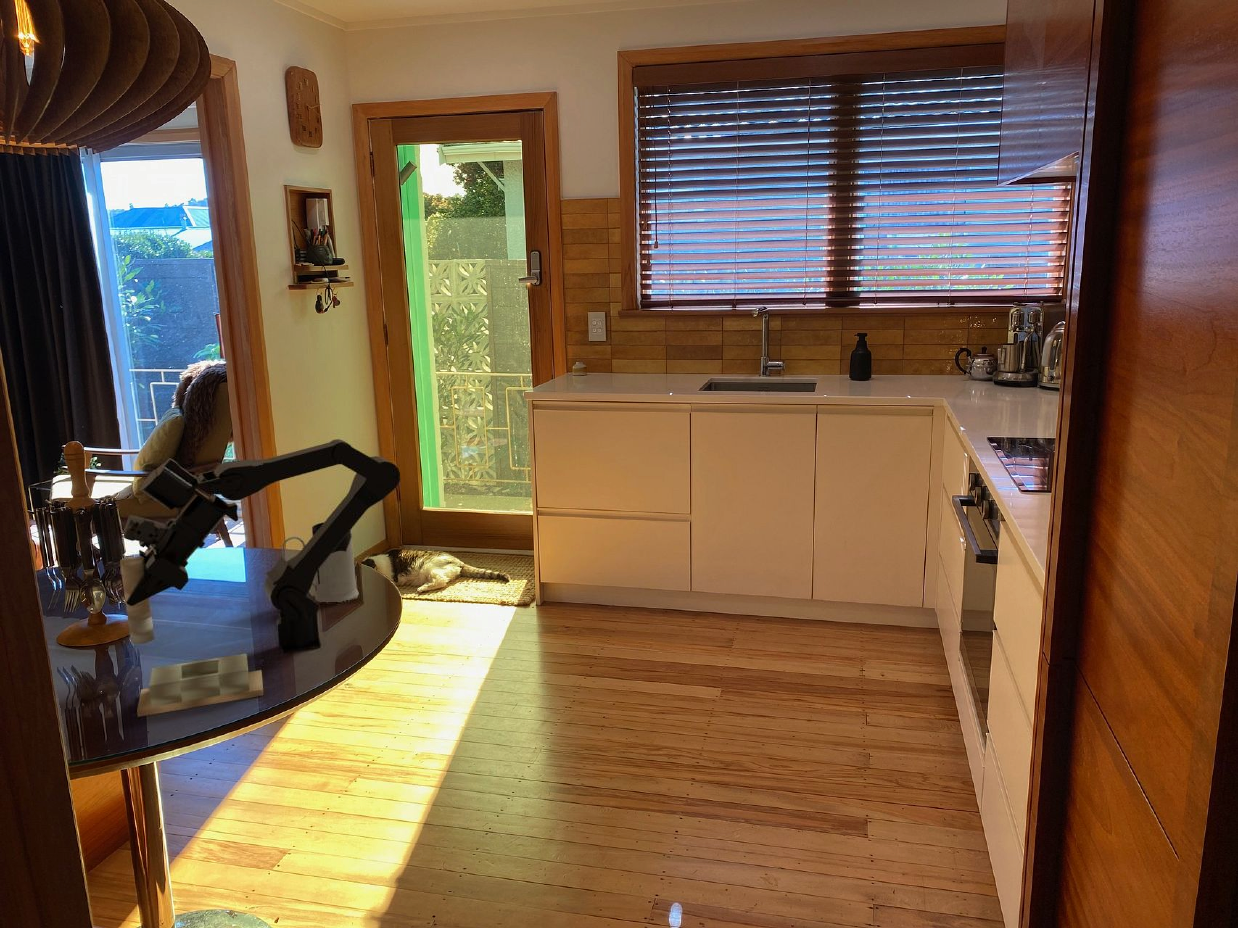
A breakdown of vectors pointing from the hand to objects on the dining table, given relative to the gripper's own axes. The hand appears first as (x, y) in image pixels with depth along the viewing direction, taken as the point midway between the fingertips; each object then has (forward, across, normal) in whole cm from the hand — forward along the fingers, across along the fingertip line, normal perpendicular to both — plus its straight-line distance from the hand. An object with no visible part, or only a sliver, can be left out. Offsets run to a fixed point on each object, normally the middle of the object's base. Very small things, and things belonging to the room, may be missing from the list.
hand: (127, 601), depth 155 cm
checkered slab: (+4, +13, +16) cm, 21 cm away
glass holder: (-16, -23, +35) cm, 45 cm away
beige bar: (+4, 0, +6) cm, 7 cm away
